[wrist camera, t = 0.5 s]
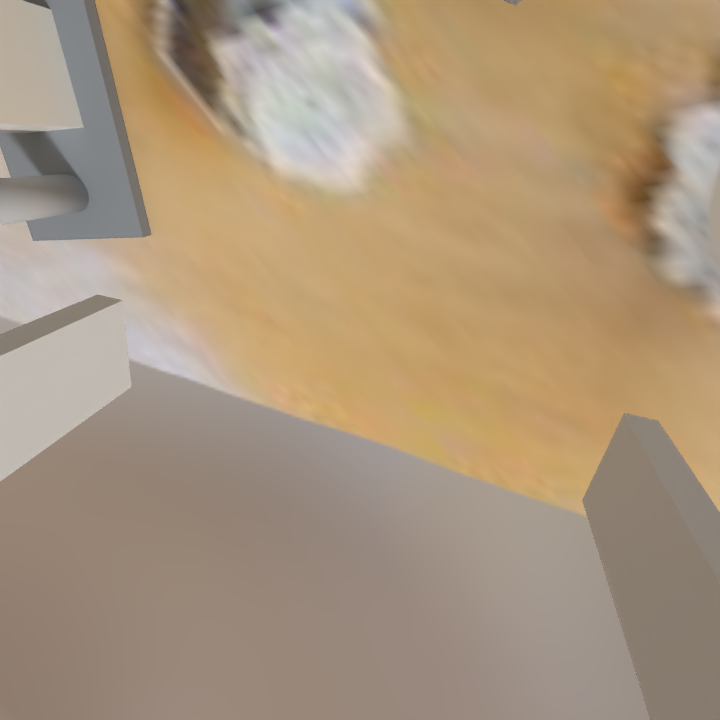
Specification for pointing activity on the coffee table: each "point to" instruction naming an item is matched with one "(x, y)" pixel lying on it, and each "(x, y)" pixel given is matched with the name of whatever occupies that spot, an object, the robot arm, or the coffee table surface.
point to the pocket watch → (513, 1)
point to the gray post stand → (76, 150)
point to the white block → (33, 72)
